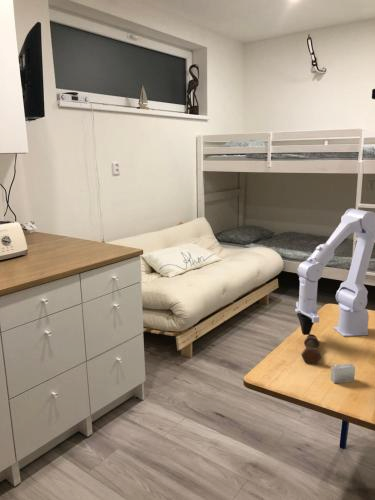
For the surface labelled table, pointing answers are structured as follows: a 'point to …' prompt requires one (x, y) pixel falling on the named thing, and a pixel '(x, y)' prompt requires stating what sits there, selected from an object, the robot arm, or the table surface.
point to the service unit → (342, 373)
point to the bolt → (311, 350)
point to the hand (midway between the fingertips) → (305, 334)
